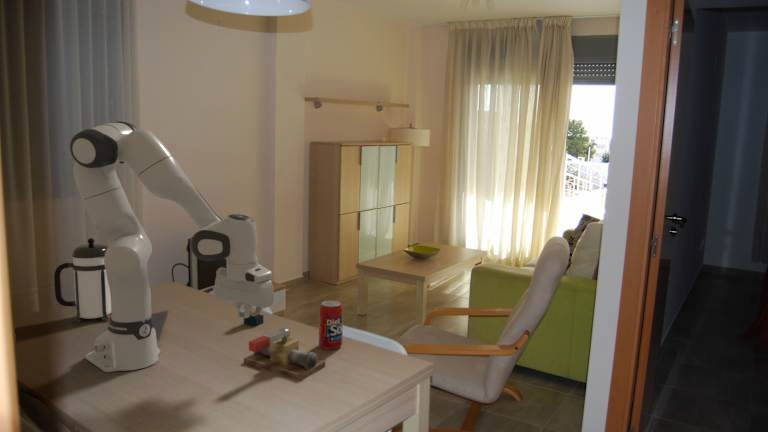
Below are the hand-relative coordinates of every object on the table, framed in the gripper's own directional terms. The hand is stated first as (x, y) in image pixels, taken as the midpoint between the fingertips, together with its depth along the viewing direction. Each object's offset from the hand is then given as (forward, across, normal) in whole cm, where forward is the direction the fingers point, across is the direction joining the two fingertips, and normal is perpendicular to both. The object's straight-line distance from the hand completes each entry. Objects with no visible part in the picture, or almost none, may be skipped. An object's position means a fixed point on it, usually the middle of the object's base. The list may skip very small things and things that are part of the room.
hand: (244, 316), depth 167 cm
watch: (+17, -27, +32) cm, 46 cm away
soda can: (+18, +9, +31) cm, 36 cm away
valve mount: (+17, +6, +11) cm, 21 cm away
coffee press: (+16, -79, +2) cm, 81 cm away
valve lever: (+8, +6, +5) cm, 11 cm away
